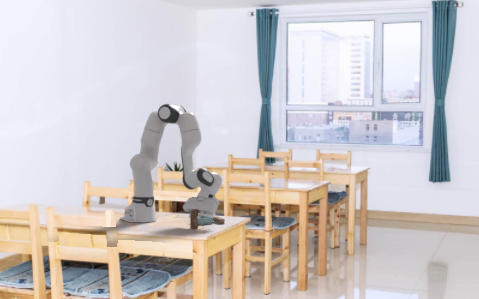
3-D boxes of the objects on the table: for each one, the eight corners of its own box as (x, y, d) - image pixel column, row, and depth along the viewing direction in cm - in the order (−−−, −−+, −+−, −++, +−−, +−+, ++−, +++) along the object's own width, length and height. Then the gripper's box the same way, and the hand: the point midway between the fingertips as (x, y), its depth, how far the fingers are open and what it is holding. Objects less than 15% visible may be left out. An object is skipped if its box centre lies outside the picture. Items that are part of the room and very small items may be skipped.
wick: (212, 221, 348) (212, 216, 348) (217, 221, 349) (217, 216, 349) (219, 224, 339) (219, 219, 339) (224, 224, 340) (224, 219, 340)
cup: (190, 223, 340) (191, 217, 340) (202, 221, 347) (202, 215, 347) (201, 225, 334) (201, 219, 334) (213, 223, 341) (213, 217, 340)
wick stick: (190, 228, 324) (190, 209, 323) (193, 227, 326) (194, 209, 326) (194, 228, 322) (195, 210, 322) (198, 227, 325) (198, 209, 324)
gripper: (187, 193, 335) (176, 212, 327) (217, 196, 324) (206, 216, 316) (192, 200, 339) (181, 219, 331) (222, 203, 327) (211, 223, 320)
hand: (193, 218), depth 323 cm, fingers closed on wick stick, 3 cm apart
